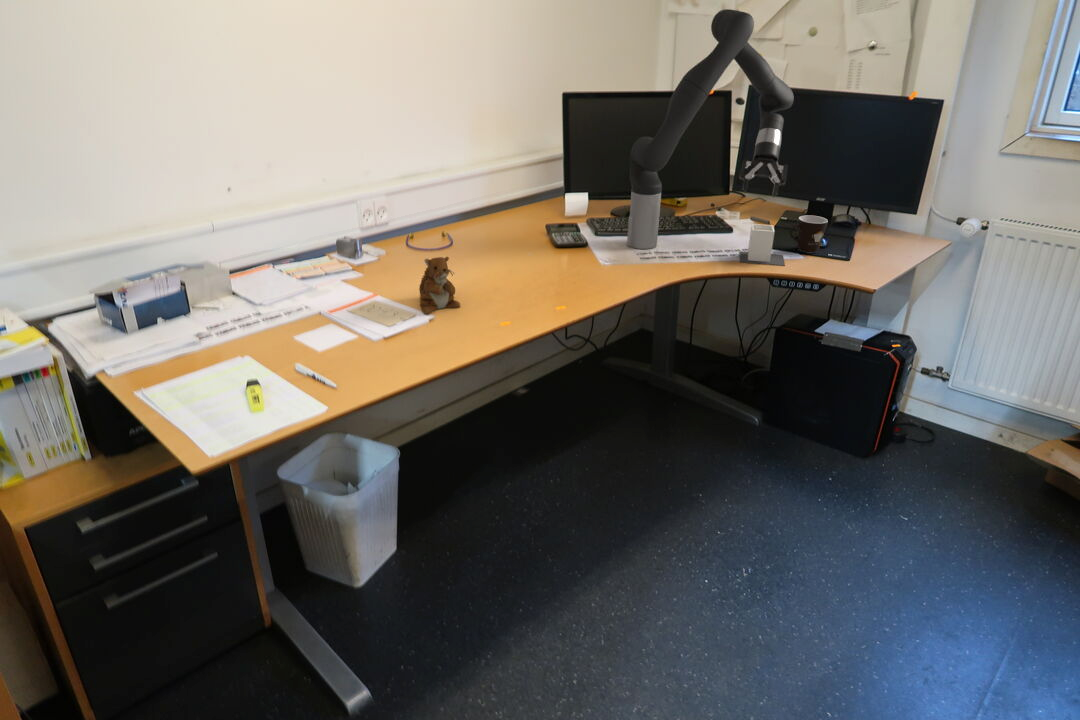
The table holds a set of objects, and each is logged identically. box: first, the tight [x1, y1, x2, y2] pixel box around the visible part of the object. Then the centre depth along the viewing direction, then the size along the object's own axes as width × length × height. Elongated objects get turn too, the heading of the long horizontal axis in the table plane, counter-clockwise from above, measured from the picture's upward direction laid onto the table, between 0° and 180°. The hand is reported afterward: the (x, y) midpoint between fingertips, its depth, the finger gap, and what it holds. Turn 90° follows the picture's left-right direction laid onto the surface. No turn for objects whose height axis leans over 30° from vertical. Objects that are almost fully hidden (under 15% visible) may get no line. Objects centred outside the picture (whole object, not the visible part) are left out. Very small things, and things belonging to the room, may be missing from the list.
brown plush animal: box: [419, 256, 461, 315], centre depth 191 cm, size 10×14×13 cm
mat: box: [739, 250, 786, 267], centre depth 227 cm, size 13×10×1 cm
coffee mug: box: [789, 214, 829, 252], centre depth 233 cm, size 12×9×10 cm
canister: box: [747, 223, 775, 262], centre depth 226 cm, size 6×6×10 cm
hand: (759, 193), depth 230 cm, fingers open, 8 cm apart
